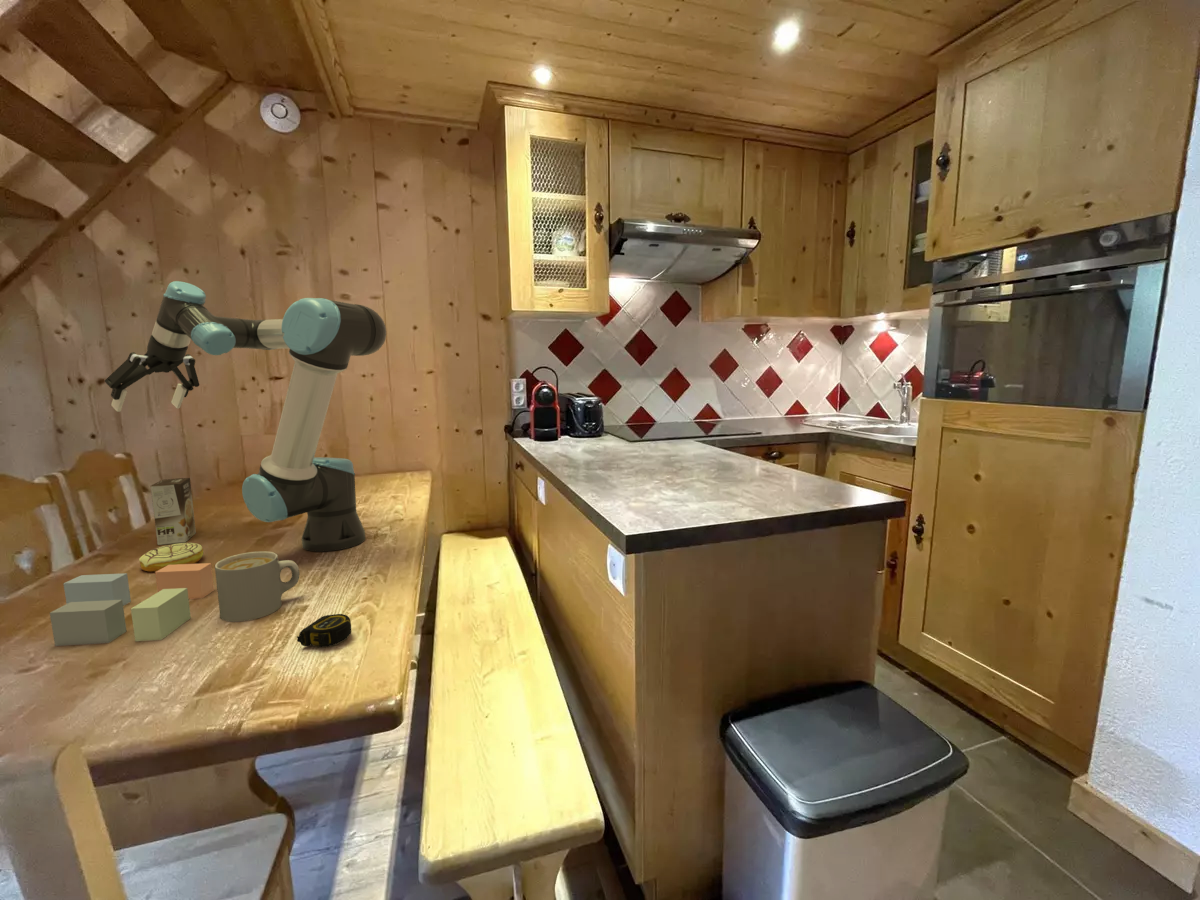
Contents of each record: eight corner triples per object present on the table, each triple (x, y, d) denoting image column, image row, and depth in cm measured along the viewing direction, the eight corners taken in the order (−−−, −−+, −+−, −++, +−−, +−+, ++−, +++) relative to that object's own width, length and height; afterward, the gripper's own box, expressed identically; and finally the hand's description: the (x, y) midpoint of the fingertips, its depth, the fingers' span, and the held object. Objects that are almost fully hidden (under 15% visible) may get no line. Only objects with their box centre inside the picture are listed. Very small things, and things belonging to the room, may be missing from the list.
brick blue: (130, 602, 103) (127, 573, 102) (115, 611, 99) (111, 581, 98) (85, 604, 102) (81, 575, 101) (68, 613, 98) (63, 583, 97)
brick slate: (126, 631, 91) (122, 599, 91) (108, 643, 88) (104, 610, 87) (75, 634, 90) (70, 602, 89) (55, 646, 86) (49, 612, 86)
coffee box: (187, 542, 138) (180, 483, 136) (156, 545, 135) (149, 485, 133) (196, 532, 146) (190, 477, 144) (168, 535, 144) (161, 479, 141)
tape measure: (325, 630, 93) (324, 610, 92) (360, 633, 92) (359, 613, 91) (297, 650, 86) (295, 629, 86) (334, 654, 85) (333, 632, 84)
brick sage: (167, 619, 96) (163, 589, 95) (190, 618, 97) (187, 588, 96) (135, 641, 88) (130, 608, 87) (161, 640, 89) (157, 607, 88)
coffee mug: (218, 626, 93) (212, 574, 92) (222, 605, 102) (216, 557, 100) (303, 609, 100) (299, 560, 99) (300, 590, 109) (296, 545, 107)
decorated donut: (142, 563, 124) (140, 547, 123) (203, 553, 131) (201, 537, 130) (139, 578, 115) (136, 560, 114) (205, 566, 122) (203, 549, 122)
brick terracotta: (214, 590, 109) (211, 563, 108) (202, 598, 105) (199, 570, 104) (172, 592, 108) (168, 564, 107) (158, 600, 104) (155, 572, 103)
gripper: (212, 335, 143) (189, 396, 150) (100, 327, 120) (78, 400, 127) (229, 351, 142) (205, 412, 148) (118, 346, 118) (96, 419, 125)
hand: (146, 407), depth 137 cm, fingers open, 13 cm apart
